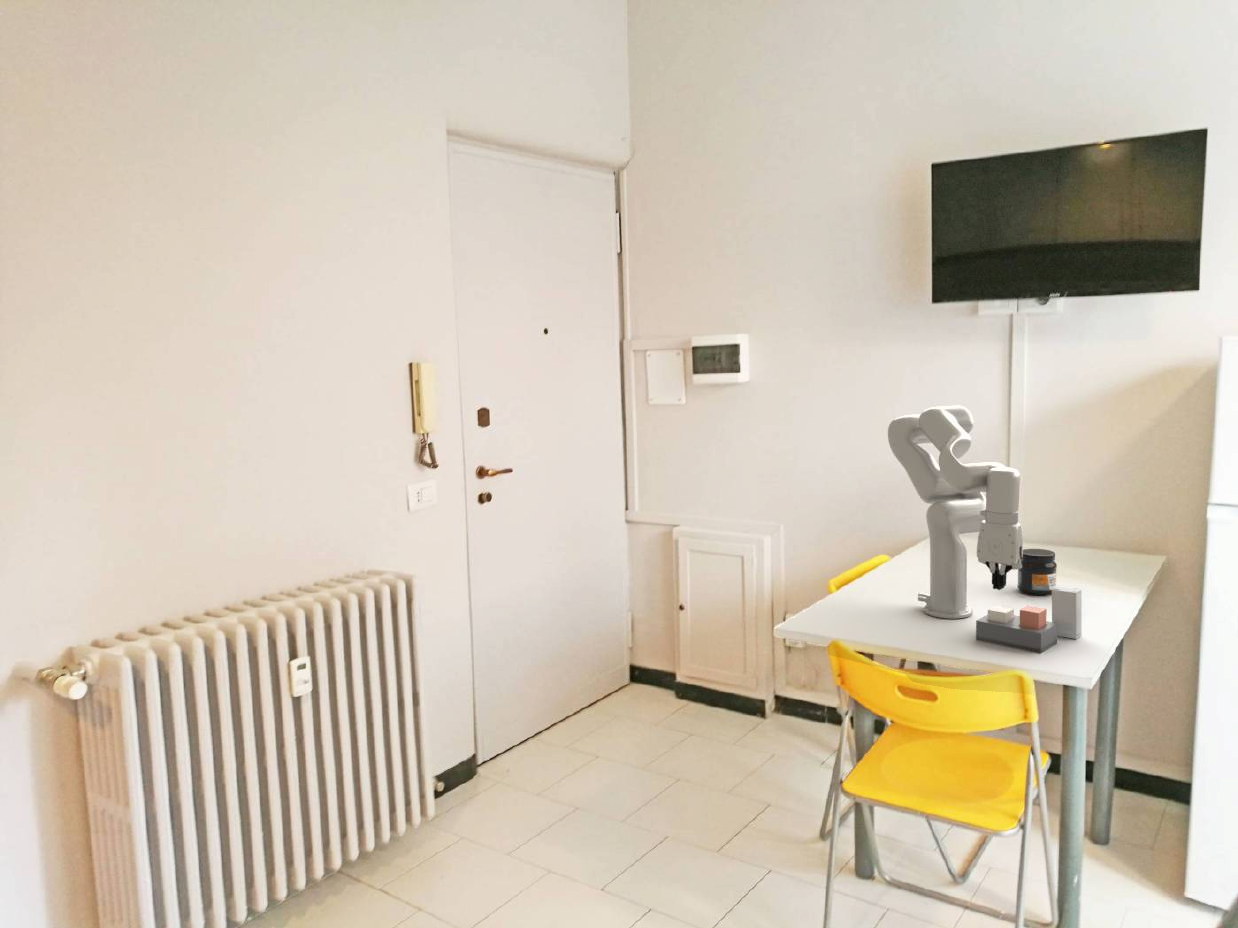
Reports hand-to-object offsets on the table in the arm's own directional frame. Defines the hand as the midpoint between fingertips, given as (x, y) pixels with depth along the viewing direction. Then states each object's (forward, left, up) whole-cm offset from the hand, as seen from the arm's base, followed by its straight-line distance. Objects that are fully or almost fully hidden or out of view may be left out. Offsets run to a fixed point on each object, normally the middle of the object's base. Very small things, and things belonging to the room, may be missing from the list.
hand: (998, 587), depth 231 cm
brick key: (+9, 0, -8) cm, 12 cm away
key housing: (+5, 0, -13) cm, 14 cm away
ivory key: (+1, 0, -10) cm, 10 cm away
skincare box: (+12, +11, -13) cm, 21 cm away
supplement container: (-9, +47, -13) cm, 49 cm away
